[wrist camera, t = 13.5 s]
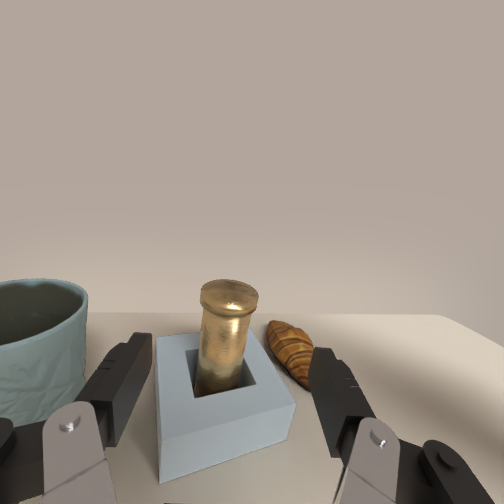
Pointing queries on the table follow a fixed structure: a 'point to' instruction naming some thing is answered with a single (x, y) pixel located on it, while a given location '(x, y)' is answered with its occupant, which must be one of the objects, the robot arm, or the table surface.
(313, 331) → the table surface
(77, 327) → the teal plant pot
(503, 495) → the table surface
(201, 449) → the frame
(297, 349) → the croissant
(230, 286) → the brass flanged cylinder
